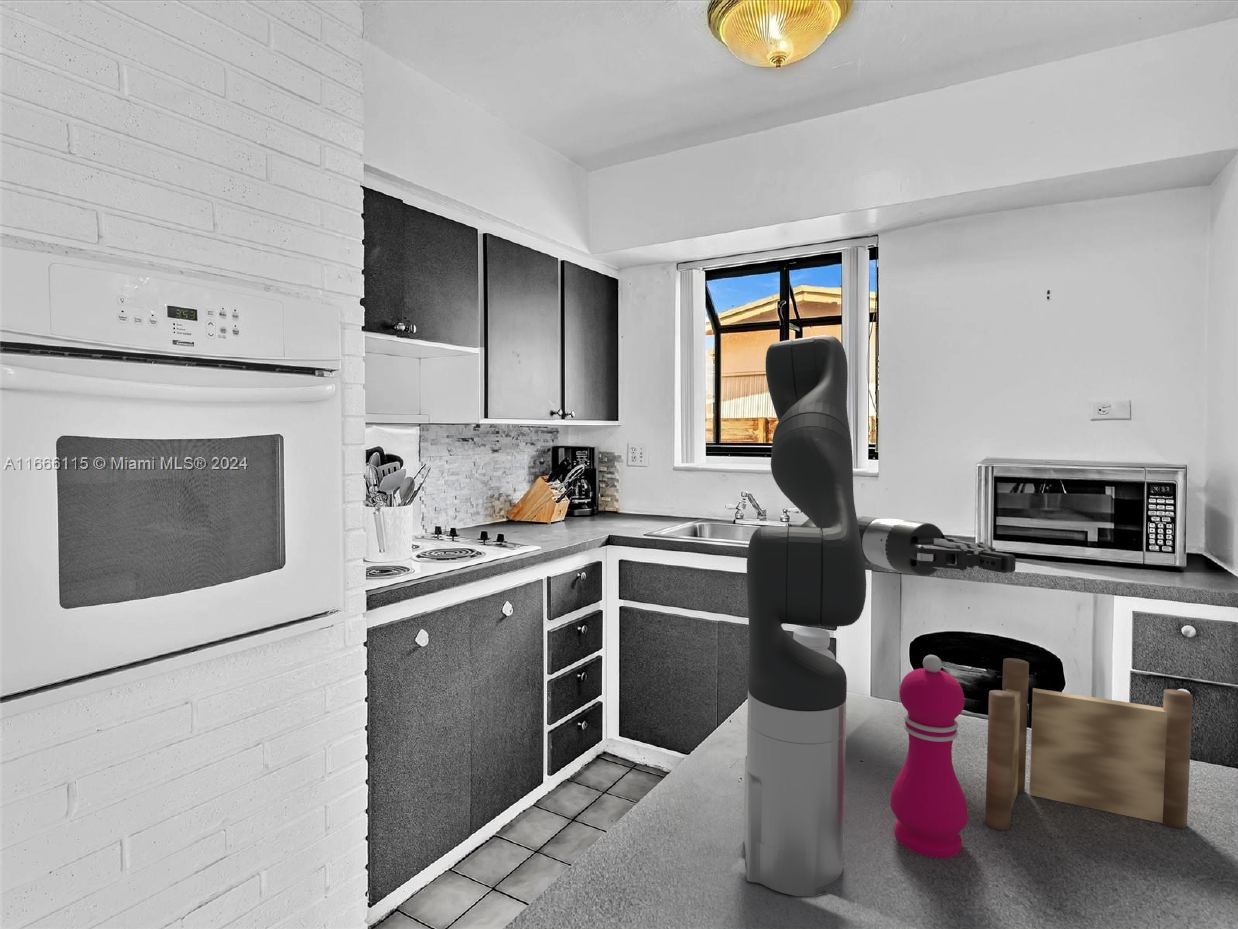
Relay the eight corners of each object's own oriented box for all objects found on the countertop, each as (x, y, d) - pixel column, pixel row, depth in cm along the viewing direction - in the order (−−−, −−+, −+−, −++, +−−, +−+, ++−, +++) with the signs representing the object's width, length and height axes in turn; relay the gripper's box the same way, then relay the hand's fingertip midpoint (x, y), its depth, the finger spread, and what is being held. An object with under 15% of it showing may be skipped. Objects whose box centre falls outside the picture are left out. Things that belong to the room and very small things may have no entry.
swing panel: (1030, 797, 81) (1034, 676, 80) (1029, 787, 83) (1033, 669, 82) (1189, 831, 74) (1195, 699, 73) (1184, 820, 76) (1189, 691, 76)
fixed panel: (1001, 781, 85) (1005, 656, 84) (1026, 787, 83) (1030, 661, 82) (982, 825, 75) (986, 685, 74) (1009, 833, 73) (1014, 691, 73)
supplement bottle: (811, 730, 101) (813, 641, 100) (774, 713, 107) (776, 629, 106) (844, 719, 105) (846, 633, 104) (807, 704, 111) (809, 622, 110)
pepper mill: (975, 875, 68) (982, 669, 67) (896, 865, 70) (901, 664, 69) (956, 833, 75) (961, 647, 74) (884, 825, 77) (888, 642, 76)
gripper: (868, 521, 101) (975, 536, 85) (936, 518, 106) (1047, 532, 91) (867, 574, 101) (973, 598, 85) (935, 568, 107) (1046, 590, 91)
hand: (1011, 564), depth 88 cm, fingers closed
